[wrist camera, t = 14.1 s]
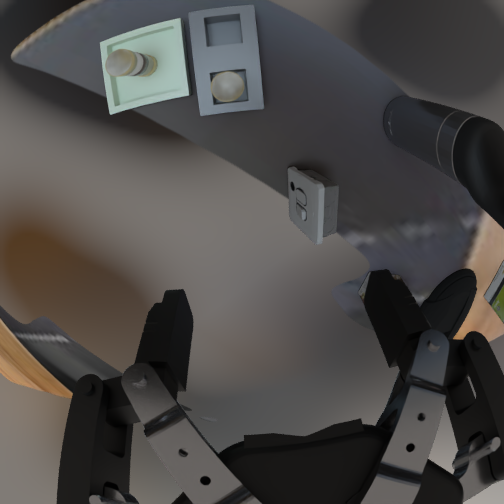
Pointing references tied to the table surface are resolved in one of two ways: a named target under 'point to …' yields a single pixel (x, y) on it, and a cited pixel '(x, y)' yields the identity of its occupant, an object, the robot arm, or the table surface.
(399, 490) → the robot arm
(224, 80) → the fuse
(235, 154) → the table surface
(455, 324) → the black flat oval piece
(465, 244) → the table surface
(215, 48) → the holder block
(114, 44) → the parts tray
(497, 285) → the tea box
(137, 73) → the fuse
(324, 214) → the electrical switch
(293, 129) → the table surface
